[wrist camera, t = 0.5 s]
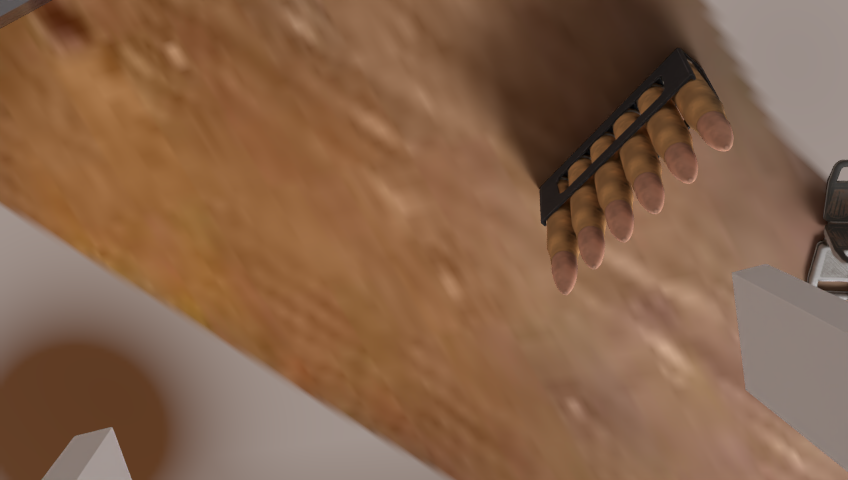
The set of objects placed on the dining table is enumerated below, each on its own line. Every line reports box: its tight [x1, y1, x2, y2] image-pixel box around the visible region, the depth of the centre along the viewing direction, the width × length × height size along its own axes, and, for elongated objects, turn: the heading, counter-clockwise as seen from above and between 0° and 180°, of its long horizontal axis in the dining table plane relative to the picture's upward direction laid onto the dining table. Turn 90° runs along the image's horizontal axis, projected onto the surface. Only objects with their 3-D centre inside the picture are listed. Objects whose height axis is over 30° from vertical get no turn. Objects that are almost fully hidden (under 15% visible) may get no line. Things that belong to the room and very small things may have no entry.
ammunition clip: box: [540, 48, 733, 295], centre depth 34 cm, size 11×2×12 cm, turn 142°
